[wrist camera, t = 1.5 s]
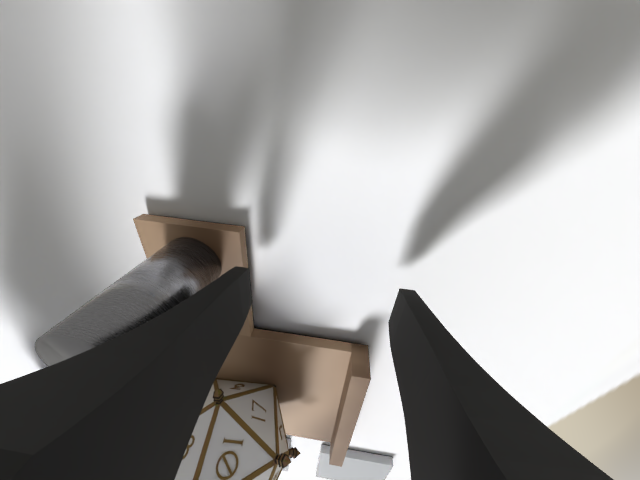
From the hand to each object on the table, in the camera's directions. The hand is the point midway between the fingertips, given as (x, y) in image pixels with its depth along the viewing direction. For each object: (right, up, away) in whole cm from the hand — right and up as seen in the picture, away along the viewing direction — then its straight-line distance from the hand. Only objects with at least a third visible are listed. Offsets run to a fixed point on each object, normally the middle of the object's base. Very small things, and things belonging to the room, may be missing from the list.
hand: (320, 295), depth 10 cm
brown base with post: (-4, -5, +5) cm, 8 cm away
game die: (-5, -8, +8) cm, 12 cm away
